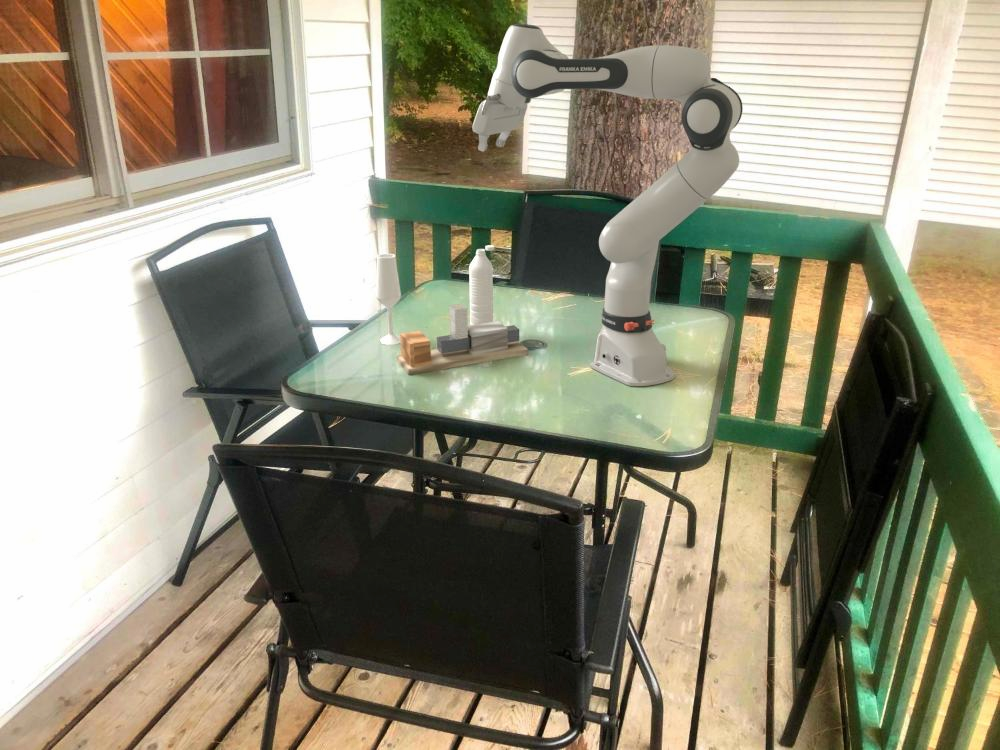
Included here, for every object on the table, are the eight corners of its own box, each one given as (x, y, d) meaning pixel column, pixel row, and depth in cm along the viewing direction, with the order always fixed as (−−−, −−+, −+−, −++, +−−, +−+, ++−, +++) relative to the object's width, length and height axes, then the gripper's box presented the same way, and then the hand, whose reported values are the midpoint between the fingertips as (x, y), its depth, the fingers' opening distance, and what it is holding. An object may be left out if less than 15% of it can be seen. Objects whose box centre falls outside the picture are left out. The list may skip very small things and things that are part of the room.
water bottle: (484, 342, 212) (483, 253, 202) (465, 337, 216) (463, 250, 206) (502, 333, 219) (502, 246, 209) (483, 328, 222) (482, 243, 212)
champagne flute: (387, 346, 209) (382, 260, 200) (374, 340, 214) (368, 255, 205) (408, 340, 214) (403, 256, 204) (394, 334, 218) (389, 251, 209)
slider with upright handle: (519, 341, 205) (520, 300, 201) (442, 354, 197) (440, 311, 192) (513, 336, 208) (513, 296, 204) (436, 348, 200) (435, 307, 196)
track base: (527, 354, 204) (528, 327, 201) (408, 374, 192) (407, 346, 189) (511, 342, 212) (512, 315, 209) (396, 360, 200) (395, 333, 197)
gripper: (498, 100, 177) (481, 158, 184) (535, 96, 194) (518, 148, 201) (475, 90, 178) (459, 148, 185) (514, 86, 195) (498, 139, 202)
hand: (490, 148), depth 193 cm, fingers open, 8 cm apart
